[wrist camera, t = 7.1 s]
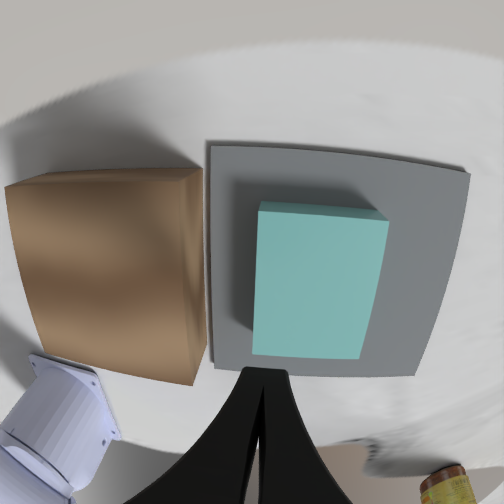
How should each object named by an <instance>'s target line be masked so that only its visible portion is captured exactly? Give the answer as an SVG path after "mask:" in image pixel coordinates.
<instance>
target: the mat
mask: <svg viewBox="0 0 504 504" xmlns="http://www.w3.org/2000/svg"><path fill="white" fill-rule="evenodd" d="M470 176H471V174H470V173H467V172H462V171H457V170H452V169H447V168H442V167H436V166H431V165H425V164H419V163H413V162H407V161H401V160H394V159H387V158H380V157H373V156H365V155H356V154H348V153H338V152H328V151H317V150H305V149H291V148H275V147H254V146H218V145H212V146H211V172H210V231H211V289H212V322H213V348H214V369H222V370H231V371H242V368H244V367H246V366H249V367H260V368H273V369H285V370H286V371H287V372H288V375H294V376H317V377H395V376H414V375H415V373H416V371H417V368H418V366H419V363H420V361H421V359H422V356H423V354H424V351H425V349H426V346H427V343H428V341H429V338H430V335H431V333H432V330H433V327H434V324H435V321H436V319H437V316H438V313H439V310H440V307H441V303H442V300H443V297H444V294H445V291H446V287H447V284H448V280H449V277H450V273H451V270H452V266H453V262H454V258H455V254H456V250H457V246H458V241H459V237H460V233H461V228H462V223H463V218H464V213H465V207H466V202H467V196H468V190H469V183H470ZM261 201H271V202H286V203H301V204H314V205H327V206H339V207H350V208H361V209H371V210H378V211H379V212H380V213H381V214H382V215H383V216H385V217H386V218H387V219H388V220H389V227H388V233H387V239H386V245H385V250H384V256H383V261H382V266H381V271H380V276H379V280H378V285H377V290H376V294H375V298H374V303H373V307H372V311H371V315H370V319H369V323H368V327H367V331H366V335H365V338H364V342H363V346H362V349H361V353H360V356H359V359H323V358H300V357H283V356H269V355H256V354H252V347H253V325H254V302H255V279H256V256H257V232H258V211H259V207H260V204H261Z"/></svg>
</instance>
